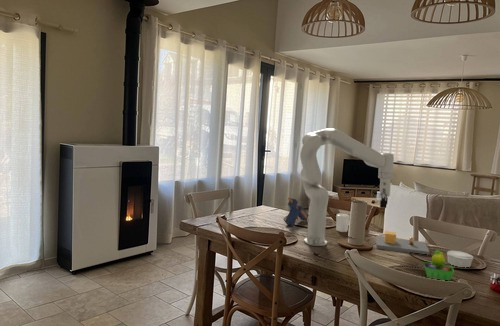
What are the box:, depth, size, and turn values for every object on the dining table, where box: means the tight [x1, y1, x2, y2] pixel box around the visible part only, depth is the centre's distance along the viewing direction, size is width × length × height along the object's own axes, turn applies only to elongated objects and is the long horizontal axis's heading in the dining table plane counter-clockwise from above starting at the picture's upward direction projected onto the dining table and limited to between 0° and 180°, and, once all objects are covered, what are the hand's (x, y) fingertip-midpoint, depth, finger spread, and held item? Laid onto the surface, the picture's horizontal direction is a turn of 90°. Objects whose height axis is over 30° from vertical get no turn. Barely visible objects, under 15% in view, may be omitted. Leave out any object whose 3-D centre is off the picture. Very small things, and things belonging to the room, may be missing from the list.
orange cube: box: [383, 230, 397, 244], centre depth 206 cm, size 6×6×5 cm
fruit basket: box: [423, 250, 455, 281], centre depth 163 cm, size 11×9×11 cm
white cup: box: [335, 213, 350, 233], centre depth 231 cm, size 8×8×10 cm
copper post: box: [408, 236, 415, 245], centre depth 202 cm, size 2×2×4 cm
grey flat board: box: [375, 235, 431, 256], centre depth 204 cm, size 18×26×2 cm
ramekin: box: [446, 250, 474, 269], centre depth 181 cm, size 11×11×5 cm
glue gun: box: [285, 197, 309, 227], centre depth 241 cm, size 6×31×15 cm
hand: (383, 205), depth 207 cm, fingers open, 9 cm apart
